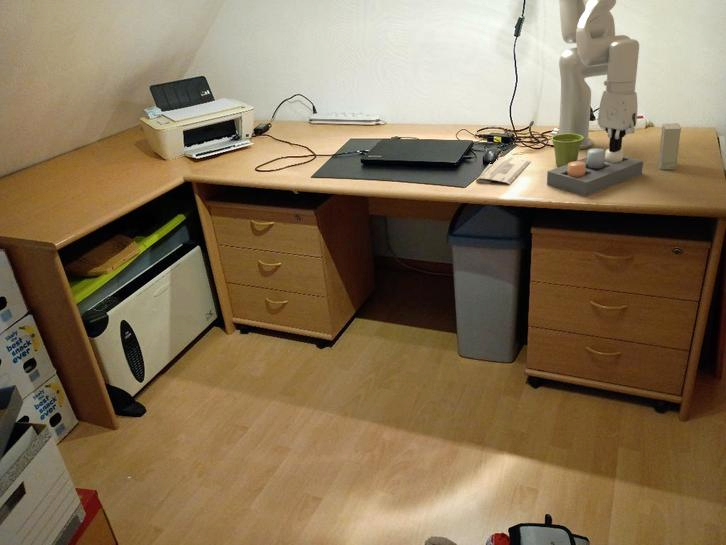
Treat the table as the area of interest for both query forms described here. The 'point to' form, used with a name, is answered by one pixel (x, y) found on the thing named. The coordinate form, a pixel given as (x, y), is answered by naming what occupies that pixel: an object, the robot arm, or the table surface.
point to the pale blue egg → (596, 158)
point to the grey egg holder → (595, 176)
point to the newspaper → (503, 170)
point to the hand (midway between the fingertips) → (614, 150)
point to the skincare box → (669, 146)
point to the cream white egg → (614, 156)
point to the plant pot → (566, 148)
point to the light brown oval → (576, 169)
